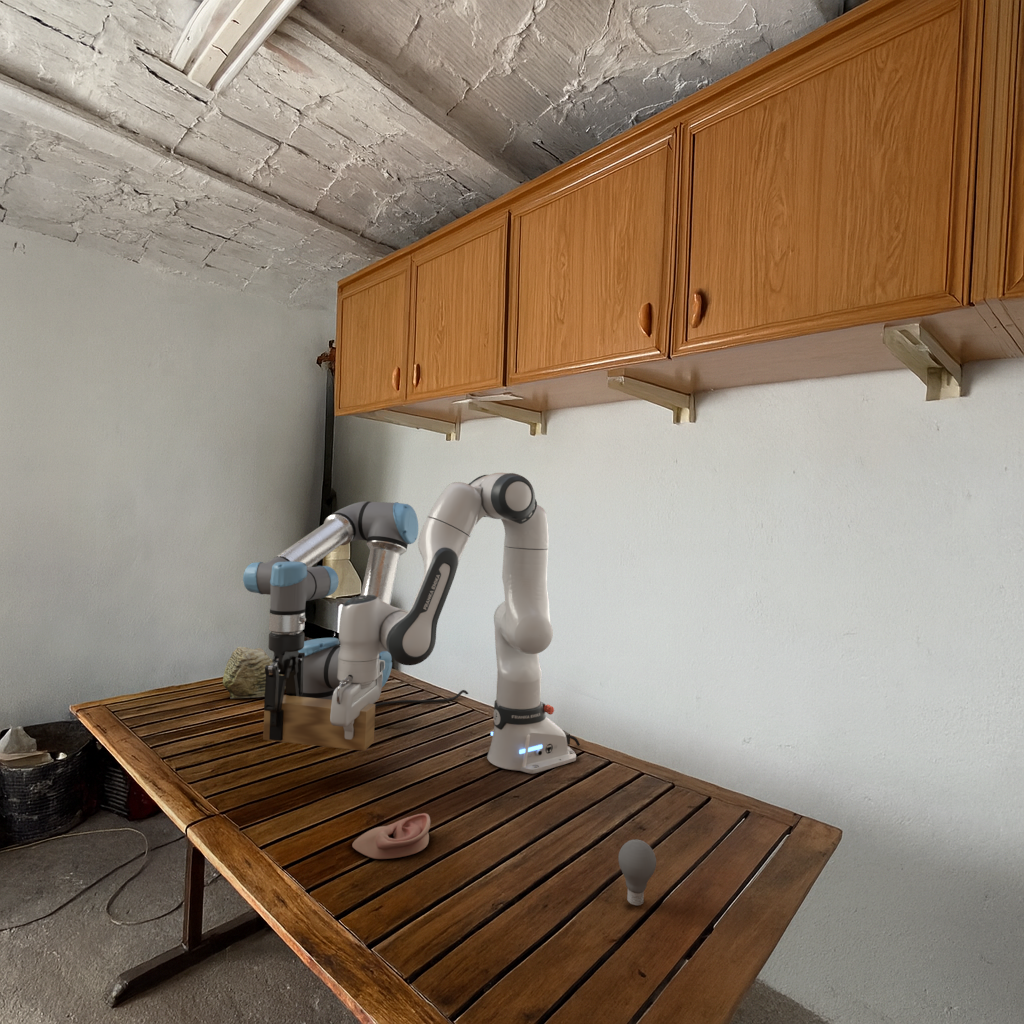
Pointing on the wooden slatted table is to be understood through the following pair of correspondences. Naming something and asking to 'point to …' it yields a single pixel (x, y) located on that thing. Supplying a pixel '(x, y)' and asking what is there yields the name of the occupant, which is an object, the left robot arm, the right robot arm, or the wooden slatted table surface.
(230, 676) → the fossil
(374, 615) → the right robot arm
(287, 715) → the bar
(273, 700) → the left robot arm
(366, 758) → the wooden slatted table surface
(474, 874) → the wooden slatted table surface
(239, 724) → the wooden slatted table surface
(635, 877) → the light bulb
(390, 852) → the anatomical model
